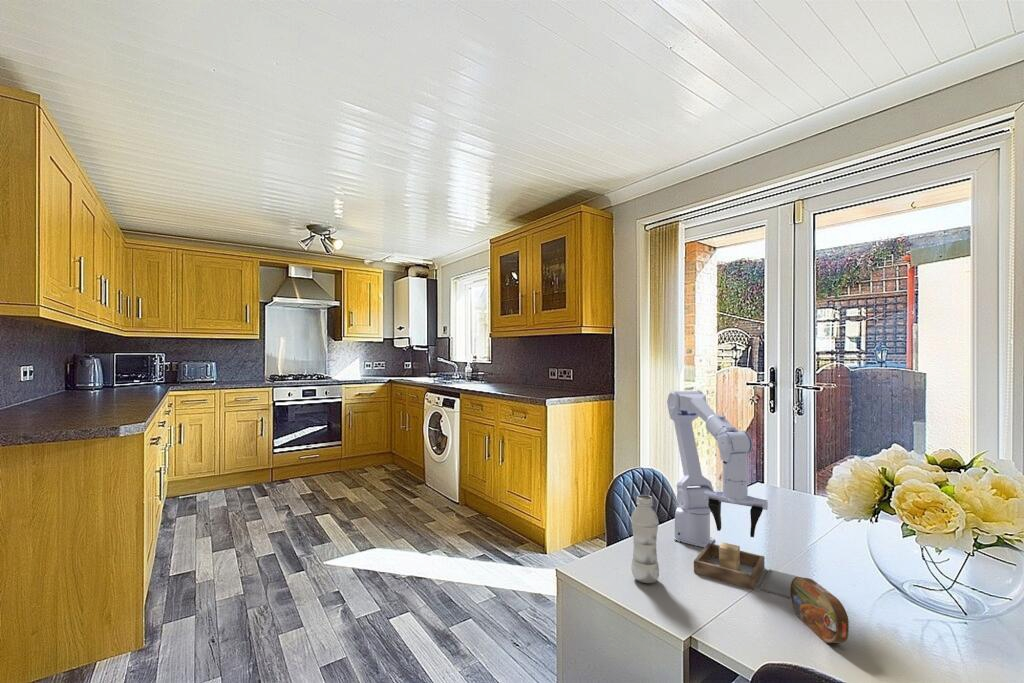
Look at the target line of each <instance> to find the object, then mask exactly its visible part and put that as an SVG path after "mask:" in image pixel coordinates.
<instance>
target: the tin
mask: <svg viewBox="0 0 1024 683" xmlns="http://www.w3.org/2000/svg"><path fill="white" fill-rule="evenodd" d="M801 577H802V576H798V577H795V578H794V579H793V580H792V583H791V587H790V595H791V598H790V600H791V604H792V605H791V606H792V608H793V609H794V612H795V614H796V615H797V617H798V618H799V619H800V620H801V621H802V622H803V624H805V625H806V626H807V627H808V628H809V629H811V631H813V633H814V634H816V635H817V637H819V638H820V640H822V641H823V642H825V643H827V644H843V643H845V642H846V641H847V640H848V638H849V626H850V625H849V621H850V620H849V617H848V613H847V610H846V609H845V607H844V604H842V602H841V601H840V600H839V599H838V598H837V596H835V595H833V594H832V593H831V592H830V591H829V590H827V589H826V588H824V587H823V586H822V585H821V584H819V583H818V582H817V581H815V580H814V579H812V578H809V577H802V578H801Z"/></svg>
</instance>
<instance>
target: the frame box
mask: <svg viewBox="0 0 1024 683" xmlns="http://www.w3.org/2000/svg"><path fill="white" fill-rule="evenodd" d="M719 547H720V545H718V544H714V543H711V544H710V543H708V545H707V546H706V547H705V548H704V547H703V549H702V550H701V552H700V553H699V554H698V555H697V557H695V559H693V573H694V572H695V573H694V574H697V573H698V574H697V575H700V574H702V576H705V577H707V576H708V578H711V579H715V580H718V581H721V582H725V583H728V584H732V585H736V586H739V587H744V588H747V589H751V590H753V591H755V589H756V587H757V585H758V583H759V580H760V578H761V577H762V574H763V572H764V571H765V564H766V563H765V556H764V555H759V554H755V553H752V552H748V551H747V552H746V551H744V550H740V565H741V564H742V565H744V566H745V565H746V566H750V567H752V568H753V569H752V572H751V573H747V572H743V571H736V570H733V569H729V568H725V567H721V566H719V565H716V564H714V563H710V562H708V561H709V559H710V558H711V557H713V556H714V558H718V559H719ZM710 556H711V557H710ZM707 560H708V561H707Z"/></svg>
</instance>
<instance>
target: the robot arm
mask: <svg viewBox="0 0 1024 683" xmlns="http://www.w3.org/2000/svg"><path fill="white" fill-rule="evenodd" d="M666 404H667V409H668V414H669V419H670V420H673V424H674V430H675V434H676V435H675V436H676V439H677V445H678V452H679V455H680V462H681V467H682V472H683V477H682V478H681V479H680V480H679V481H678V482H677V483H676V500H677V503H678V506H677V508H676V510H675V513H674V538H673V540H674V541H676V540H677V542H680V541H681V543H684V544H687V545H688V544H689V545H693V546H696V547H701V548H703V549H704V548H705V547H706V546H707V545H708V543H710V544H713V543H714V541H715V537H711V514H712V516H713V519H714V521H715V522H714V523H715V526H716V530H717V531H718V532H719V531H720V532H721V529H722V515H721V514H722V513H721V512H722V503H726V504H731V505H737V506H738V505H739V506H743V507H744V506H745V507H751V508H750V510H749V514H750V538H755V532H756V527H757V523H758V522H759V519H760V518H761V516H762V513H763V511H764V510H765V511H768V509H769V500H768V499H762V498H760V497H759V498H758V497H754V496H751V495H748V491H749V490H748V455H749V454H750V453H751V452H752V449H753V440H752V437H751V435H750V434H749V432H748V431H746V430H740V429H737V428H736V427H735V426H734V425H733V424H732V423H731V422H730V421H729V420H728V419H727V418H726V416H725V415H723V414H719V413H715V412H714V410H713V409H712V408H711V406H710V405H709V404H708V403H707V397H706V394H705V393H703V391H702V390H699V389H697V390H671V391H670V392H669V394H668V395H667V400H666ZM698 418H700V419H701V420H702V421H703V422H705V428H706V430H707V432H708V433H709V434H710V435H711V436H712V437H713V438H714V439H715V440H716V444H717V448H718V450H719V457H720V460H721V462H722V491H715V489H714V488H713V485H712V482H711V481H710V480H709V478H707V477H705V476H704V475H703V472H702V468H701V463H700V459H699V453H698V448H697V443H696V438H695V433H694V428H693V422H694V421H695V420H697V419H698Z"/></svg>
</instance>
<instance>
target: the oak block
mask: <svg viewBox="0 0 1024 683" xmlns="http://www.w3.org/2000/svg"><path fill="white" fill-rule="evenodd" d="M719 546H720V547H719V558H718V566H721V567H725V568H729V569H733V570H736V571H740V570H741V563H740V551H741V546H739V545H736V544H731V543H728V542H722V543H721V544H720V545H719ZM740 572H741V571H740Z"/></svg>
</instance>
